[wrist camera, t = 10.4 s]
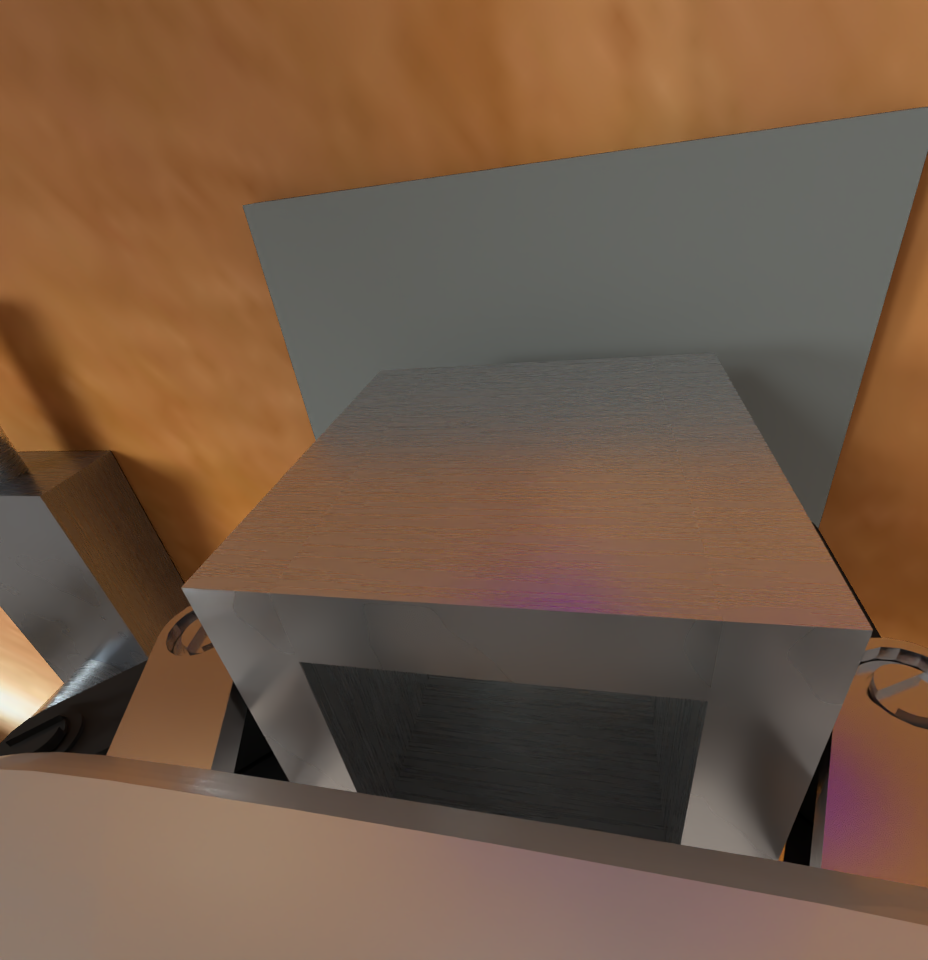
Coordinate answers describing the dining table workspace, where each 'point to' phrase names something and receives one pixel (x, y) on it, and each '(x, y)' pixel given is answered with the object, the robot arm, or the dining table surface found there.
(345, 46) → the dining table surface
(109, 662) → the block
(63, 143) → the dining table surface
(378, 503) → the steel collar
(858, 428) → the dining table surface
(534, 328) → the slate pad
